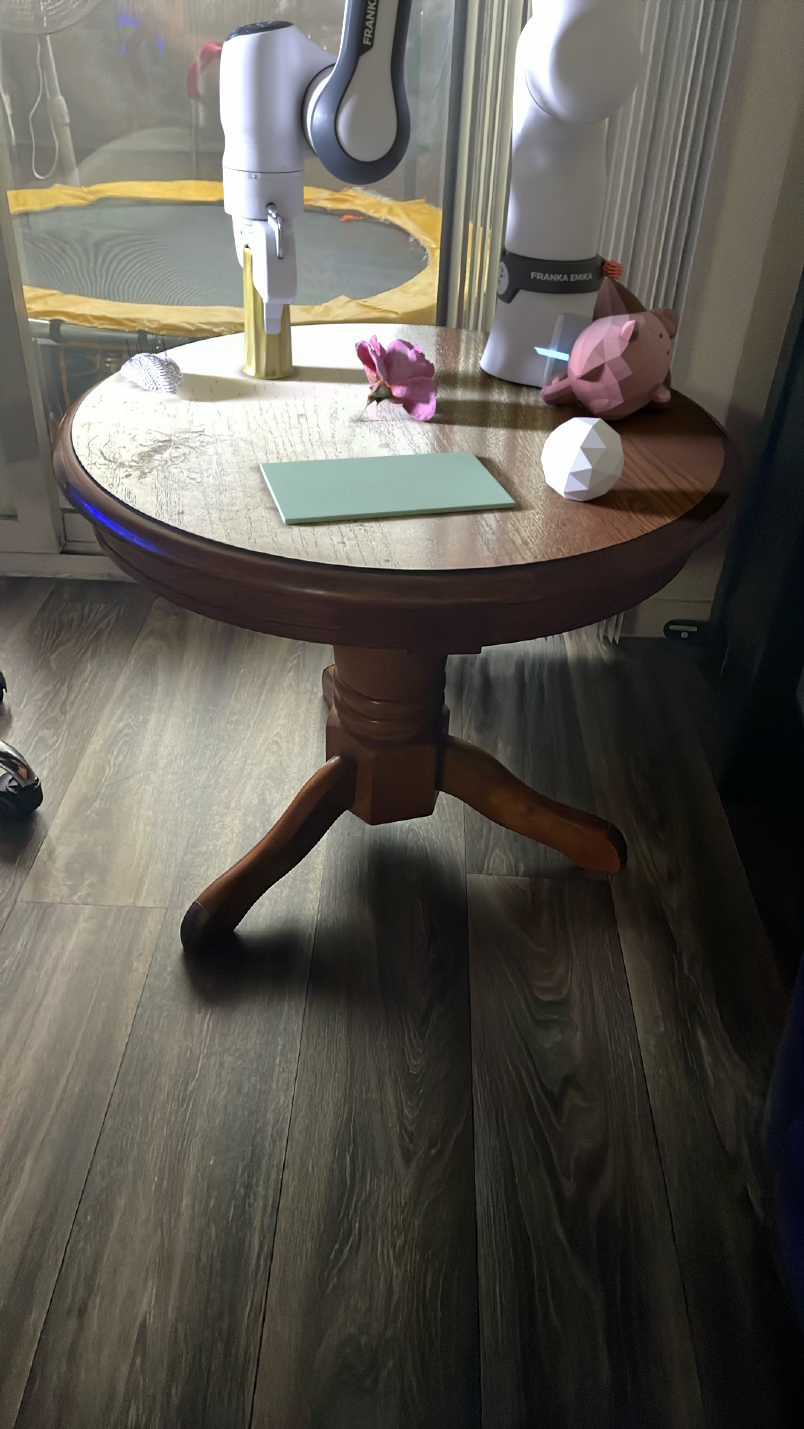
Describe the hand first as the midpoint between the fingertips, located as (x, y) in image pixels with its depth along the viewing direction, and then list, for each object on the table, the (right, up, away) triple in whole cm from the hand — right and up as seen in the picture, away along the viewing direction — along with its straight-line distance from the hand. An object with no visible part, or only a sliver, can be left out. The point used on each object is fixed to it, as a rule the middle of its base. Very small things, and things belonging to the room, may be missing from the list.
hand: (267, 324), depth 122 cm
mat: (+14, -25, -23) cm, 37 cm away
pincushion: (-13, -8, -2) cm, 15 cm away
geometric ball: (+33, -25, -23) cm, 47 cm away
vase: (0, -5, +3) cm, 6 cm away
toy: (+36, -11, -8) cm, 38 cm away
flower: (+15, -12, -5) cm, 20 cm away
